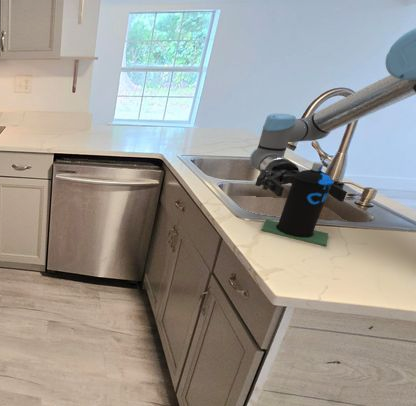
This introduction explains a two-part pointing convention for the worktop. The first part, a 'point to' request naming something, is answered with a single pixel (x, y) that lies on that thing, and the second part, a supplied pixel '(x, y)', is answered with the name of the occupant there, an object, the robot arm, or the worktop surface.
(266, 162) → the robot arm
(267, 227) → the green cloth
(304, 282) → the worktop surface
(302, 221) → the aerosol can
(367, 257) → the worktop surface
